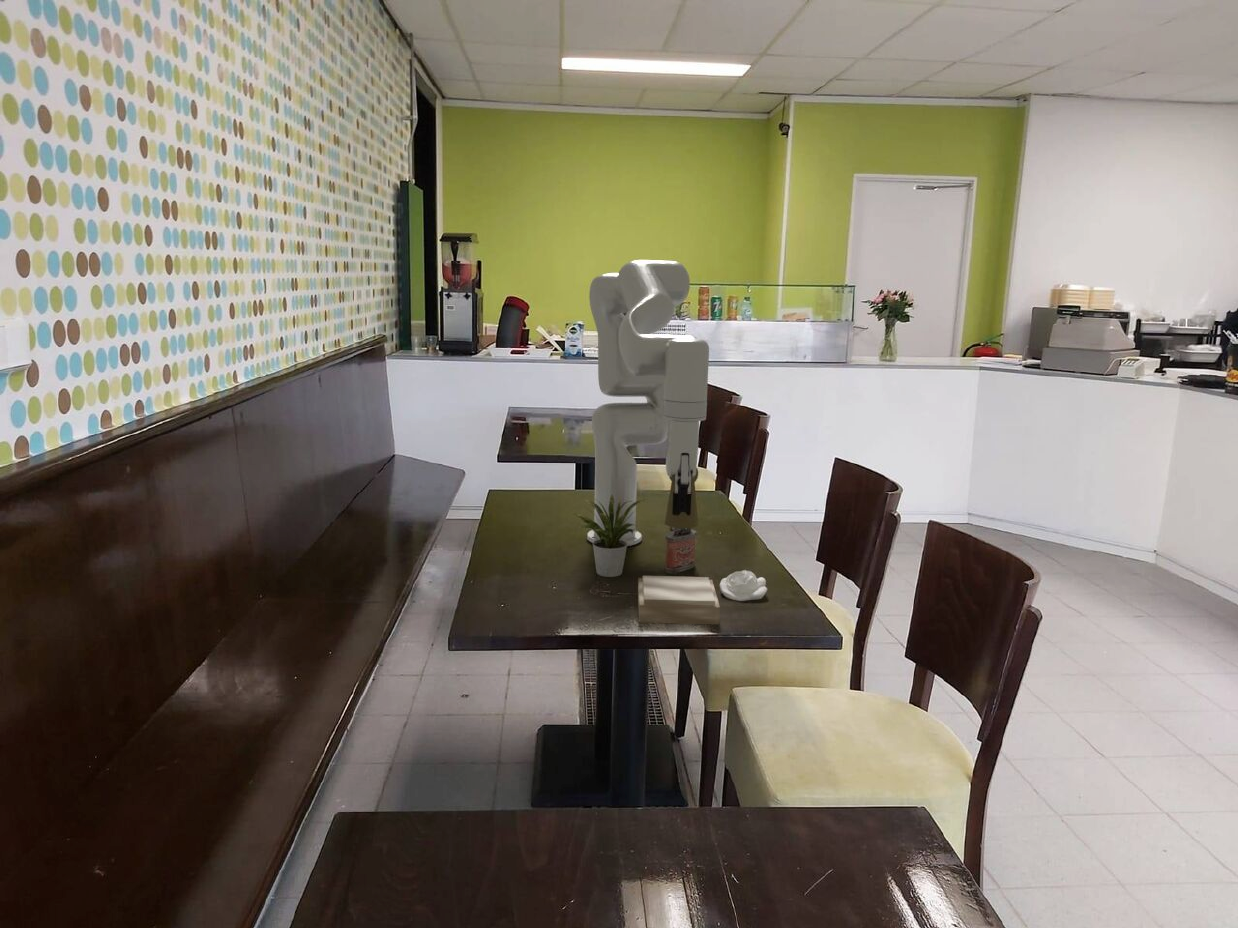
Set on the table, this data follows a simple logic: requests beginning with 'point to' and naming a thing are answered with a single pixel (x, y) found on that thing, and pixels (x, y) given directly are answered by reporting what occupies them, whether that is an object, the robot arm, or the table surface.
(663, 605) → the birch plinth
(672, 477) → the cork
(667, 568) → the lighter
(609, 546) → the house plant
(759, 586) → the rose
